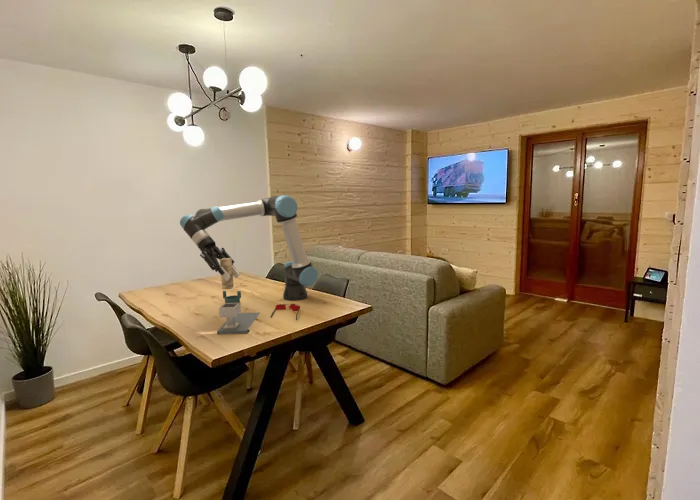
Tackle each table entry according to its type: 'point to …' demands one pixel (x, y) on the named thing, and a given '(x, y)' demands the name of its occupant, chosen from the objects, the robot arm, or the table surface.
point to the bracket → (232, 297)
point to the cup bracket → (230, 314)
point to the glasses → (283, 306)
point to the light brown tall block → (227, 265)
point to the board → (244, 325)
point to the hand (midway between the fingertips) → (233, 277)
